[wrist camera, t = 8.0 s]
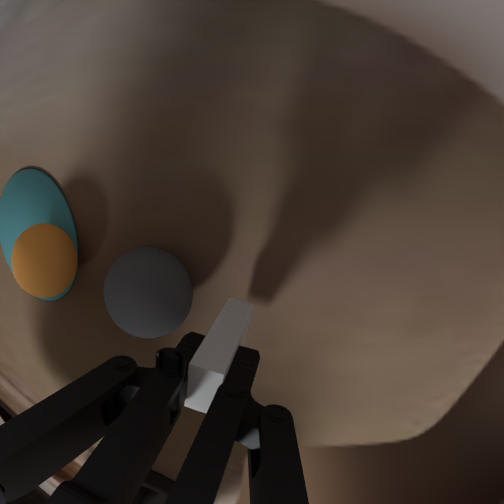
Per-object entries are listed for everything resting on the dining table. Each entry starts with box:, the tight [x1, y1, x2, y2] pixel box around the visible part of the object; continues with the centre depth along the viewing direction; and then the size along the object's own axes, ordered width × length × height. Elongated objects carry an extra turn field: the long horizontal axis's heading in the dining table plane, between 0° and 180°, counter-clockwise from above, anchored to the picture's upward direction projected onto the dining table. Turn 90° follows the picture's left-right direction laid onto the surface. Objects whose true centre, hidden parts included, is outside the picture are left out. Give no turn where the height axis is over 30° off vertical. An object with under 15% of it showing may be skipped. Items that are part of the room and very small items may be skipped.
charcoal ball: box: [103, 247, 193, 338], centre depth 18 cm, size 6×6×6 cm
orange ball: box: [11, 223, 78, 298], centre depth 19 cm, size 6×6×6 cm
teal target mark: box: [0, 169, 78, 301], centre depth 22 cm, size 12×12×1 cm
